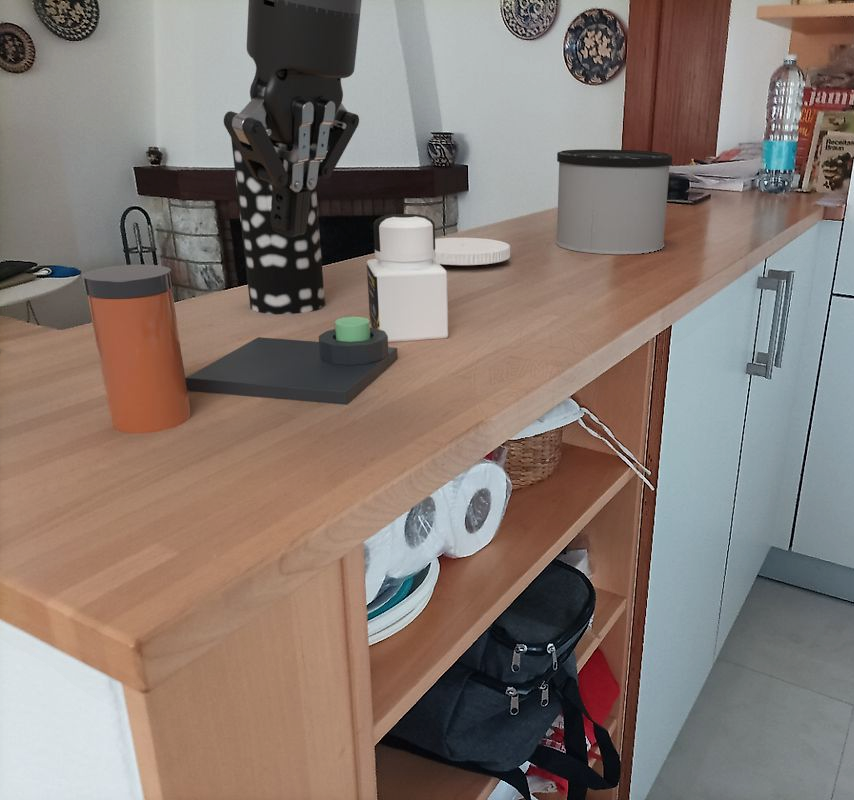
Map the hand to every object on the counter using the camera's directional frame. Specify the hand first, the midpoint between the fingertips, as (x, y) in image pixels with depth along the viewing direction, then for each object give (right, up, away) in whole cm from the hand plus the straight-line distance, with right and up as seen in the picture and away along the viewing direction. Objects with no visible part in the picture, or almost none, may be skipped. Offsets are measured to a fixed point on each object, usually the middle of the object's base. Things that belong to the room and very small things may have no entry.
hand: (288, 232), depth 63 cm
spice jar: (-9, -15, -4) cm, 18 cm away
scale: (-1, -11, +6) cm, 13 cm away
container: (+33, +13, +71) cm, 79 cm away
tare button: (+3, -8, +7) cm, 11 cm away
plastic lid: (+9, +7, +54) cm, 55 cm away
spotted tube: (-9, -3, +28) cm, 30 cm away
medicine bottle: (+7, -6, +19) cm, 21 cm away
